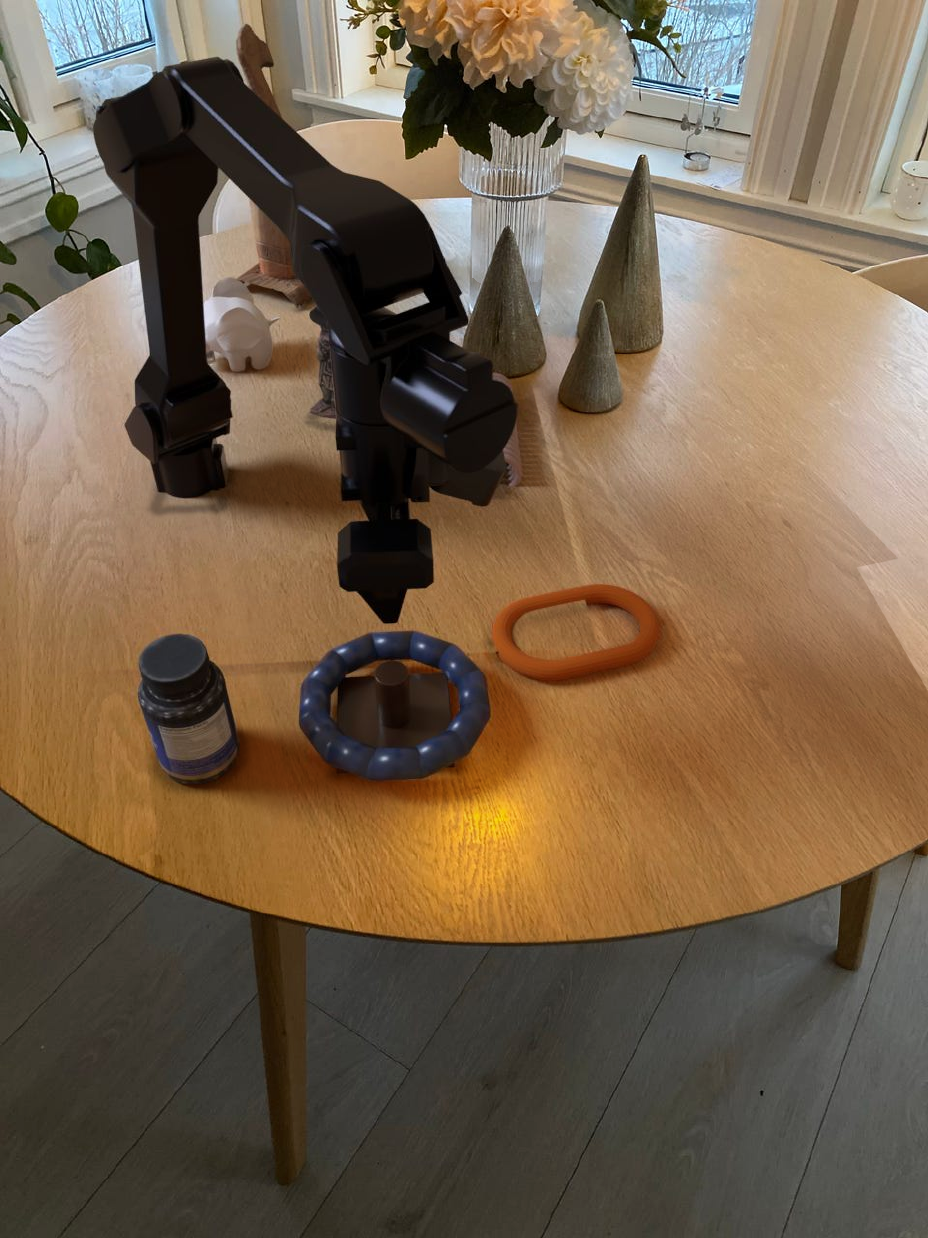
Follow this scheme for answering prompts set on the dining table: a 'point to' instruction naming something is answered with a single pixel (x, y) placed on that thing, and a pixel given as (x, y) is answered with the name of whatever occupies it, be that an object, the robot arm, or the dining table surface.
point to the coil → (512, 445)
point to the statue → (325, 379)
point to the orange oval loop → (584, 661)
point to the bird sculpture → (267, 234)
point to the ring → (401, 759)
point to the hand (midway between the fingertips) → (389, 581)
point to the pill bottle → (187, 709)
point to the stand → (393, 707)
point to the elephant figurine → (236, 326)
